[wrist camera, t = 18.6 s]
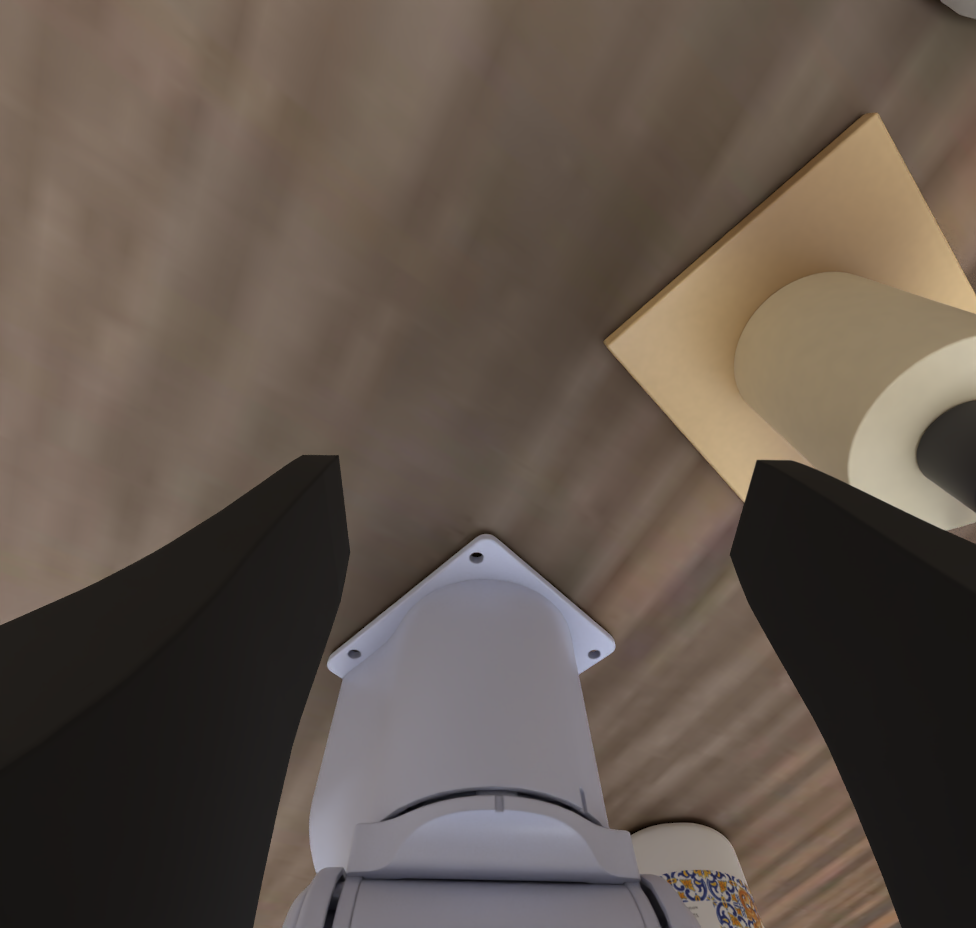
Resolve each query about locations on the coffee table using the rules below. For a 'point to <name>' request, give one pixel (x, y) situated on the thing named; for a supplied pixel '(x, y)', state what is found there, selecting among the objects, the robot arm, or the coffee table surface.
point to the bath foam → (698, 872)
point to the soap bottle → (870, 389)
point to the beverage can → (962, 7)
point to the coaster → (771, 266)
